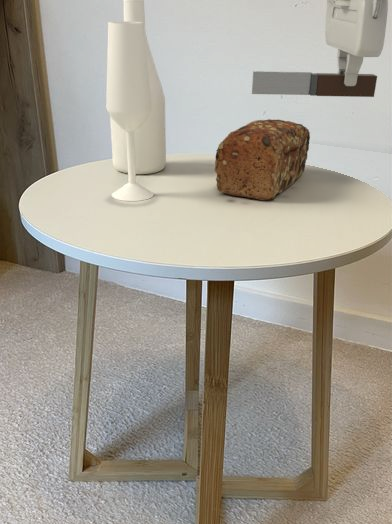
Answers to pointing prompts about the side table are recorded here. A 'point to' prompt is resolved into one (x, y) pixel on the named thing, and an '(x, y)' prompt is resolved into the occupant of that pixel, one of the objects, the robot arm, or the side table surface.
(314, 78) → the knife
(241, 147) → the bread
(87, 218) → the side table surface
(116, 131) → the wine bottle
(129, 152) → the champagne flute
